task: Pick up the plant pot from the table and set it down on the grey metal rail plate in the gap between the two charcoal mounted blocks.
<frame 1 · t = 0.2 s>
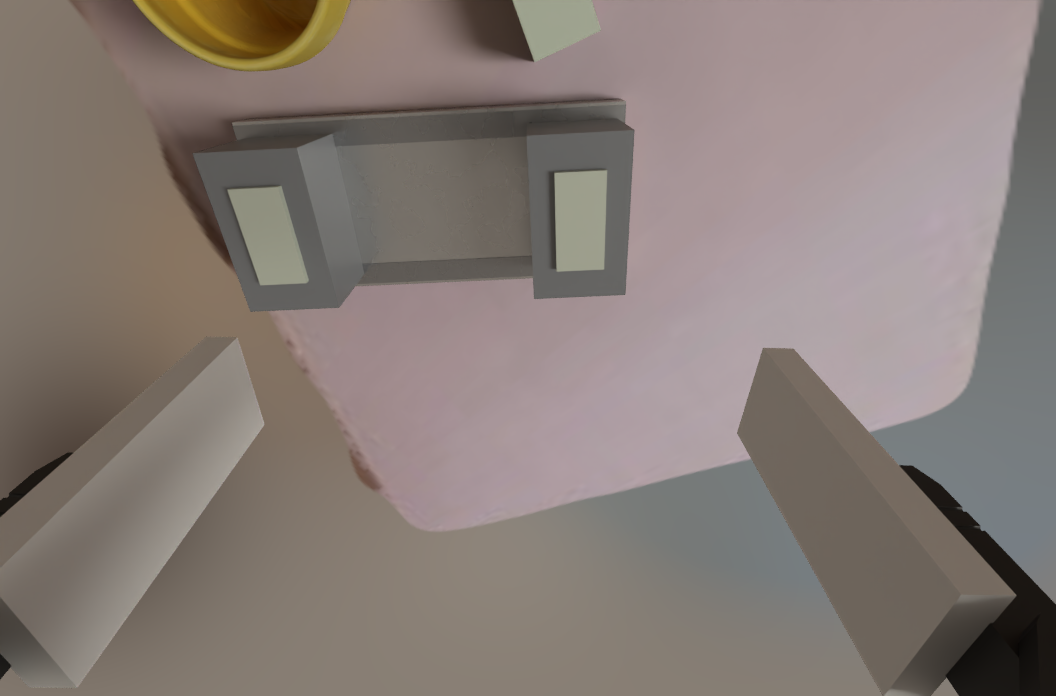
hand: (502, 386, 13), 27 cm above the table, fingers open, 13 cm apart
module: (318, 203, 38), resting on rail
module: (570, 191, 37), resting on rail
rail: (443, 197, 37), on the table
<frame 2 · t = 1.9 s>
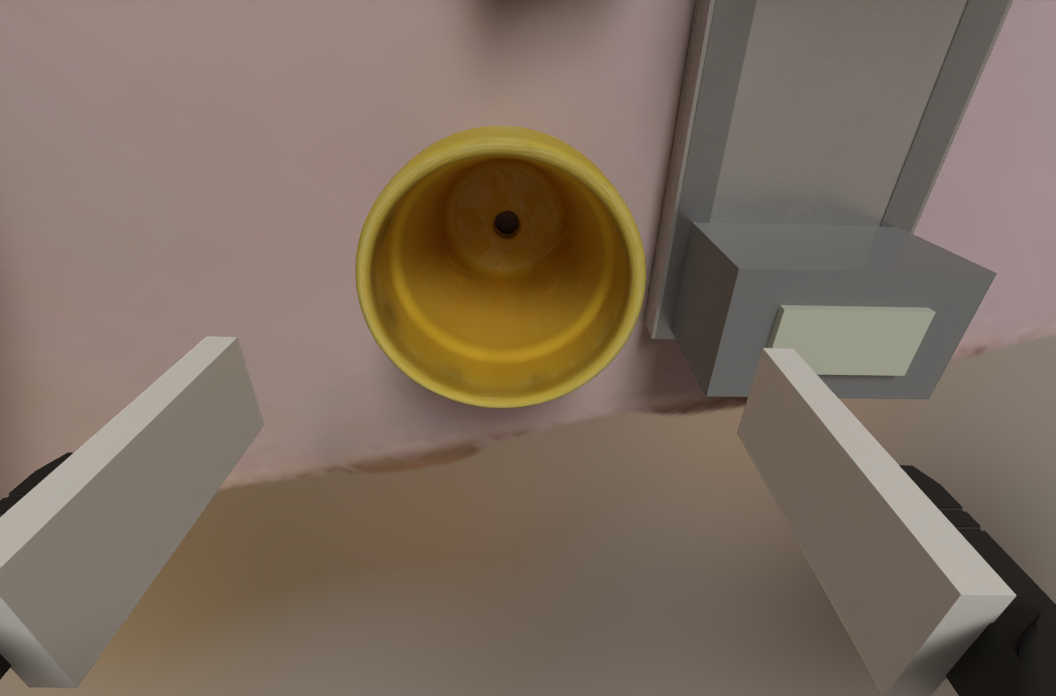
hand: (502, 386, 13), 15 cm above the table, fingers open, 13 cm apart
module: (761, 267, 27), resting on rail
plant pot: (507, 215, 26), on the table
rail: (816, 69, 23), on the table
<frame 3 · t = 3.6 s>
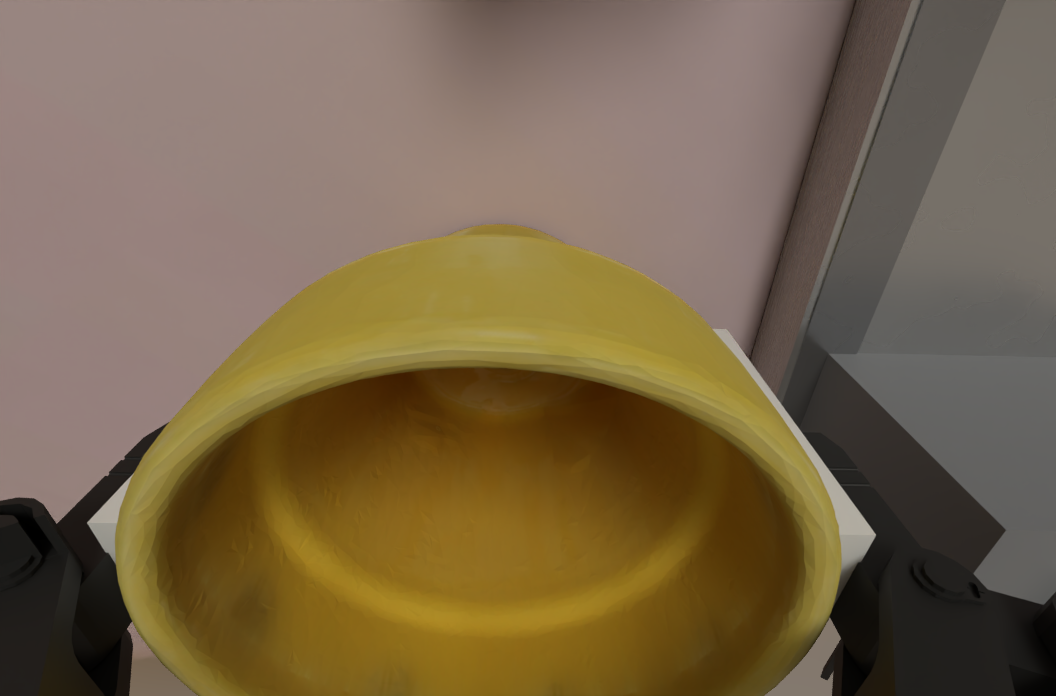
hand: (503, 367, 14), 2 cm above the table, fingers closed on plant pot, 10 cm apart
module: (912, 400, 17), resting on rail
plant pot: (506, 324, 16), on the table, touching gripper
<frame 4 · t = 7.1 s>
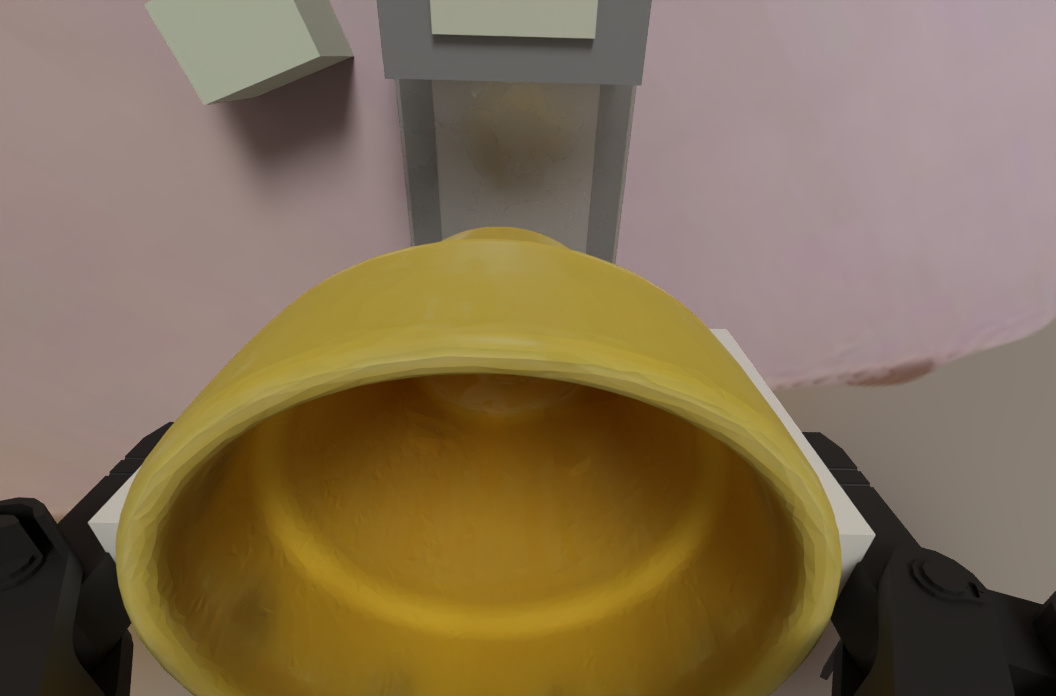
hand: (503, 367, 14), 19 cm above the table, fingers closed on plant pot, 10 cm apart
plant pot: (506, 326, 16), point 16 cm above the table, touching gripper
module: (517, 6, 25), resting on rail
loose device: (283, 34, 26), on the table
rail: (515, 199, 30), on the table
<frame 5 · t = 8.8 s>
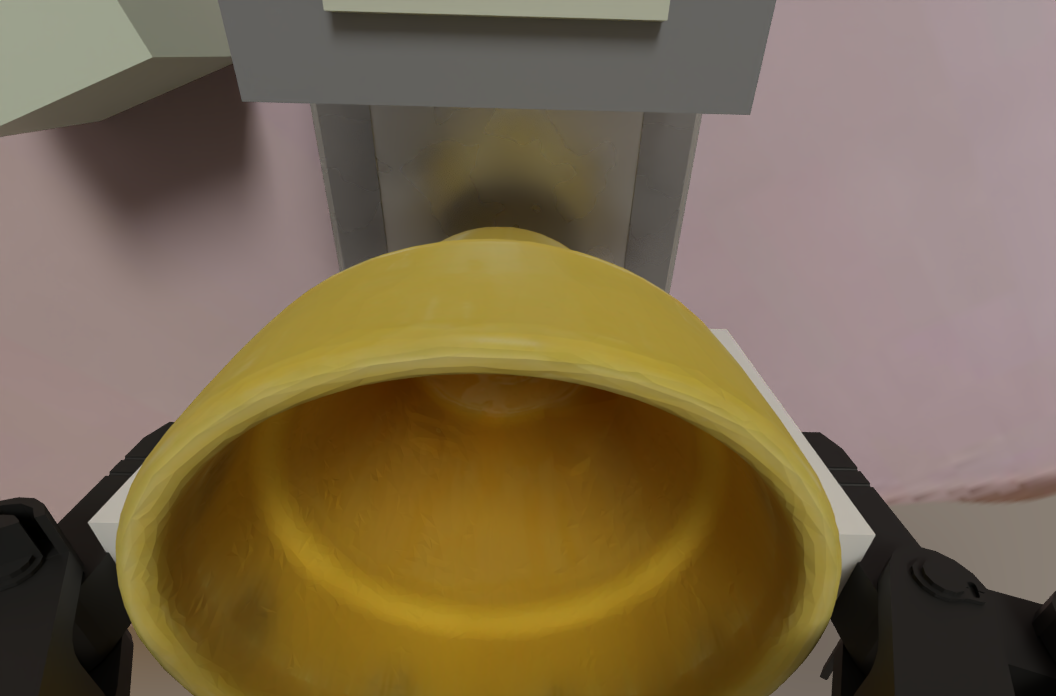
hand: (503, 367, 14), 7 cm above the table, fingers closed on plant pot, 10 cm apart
plant pot: (506, 326, 16), point 5 cm above the table, touching gripper
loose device: (132, 22, 16), on the table
rail: (508, 268, 20), on the table
when the fingers open (5 cm above the table, at t = 10.4 s): plant pot stays where it is, resting on rail.
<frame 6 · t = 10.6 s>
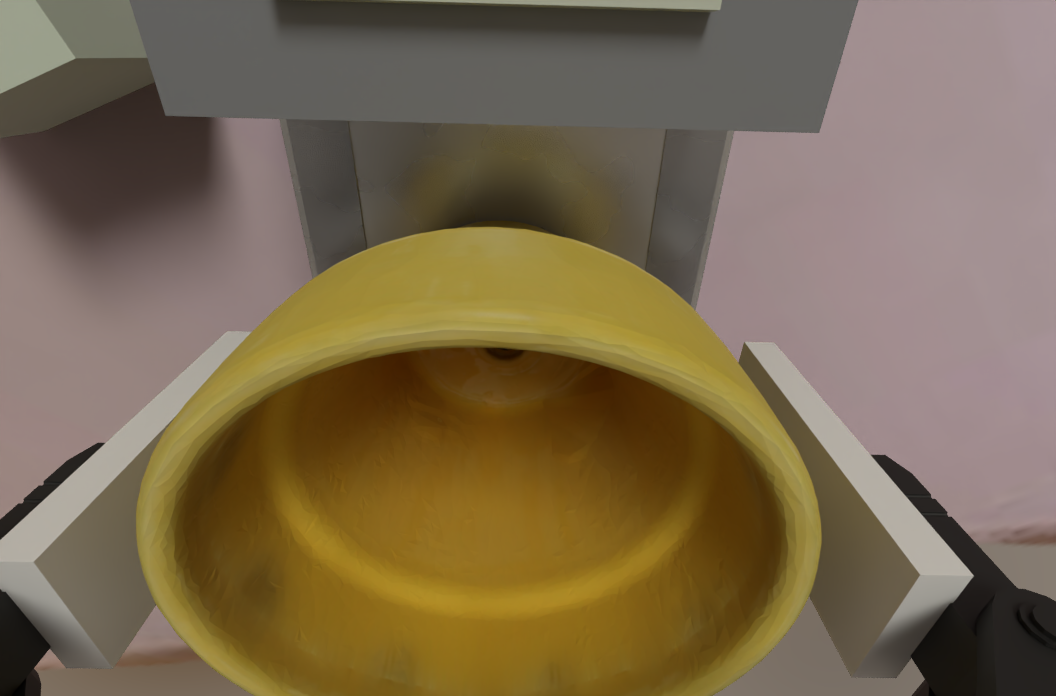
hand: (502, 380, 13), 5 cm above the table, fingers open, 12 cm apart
plant pot: (506, 318, 16), point 2 cm above the table, touching rail
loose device: (75, 18, 14), on the table
rail: (509, 295, 18), on the table
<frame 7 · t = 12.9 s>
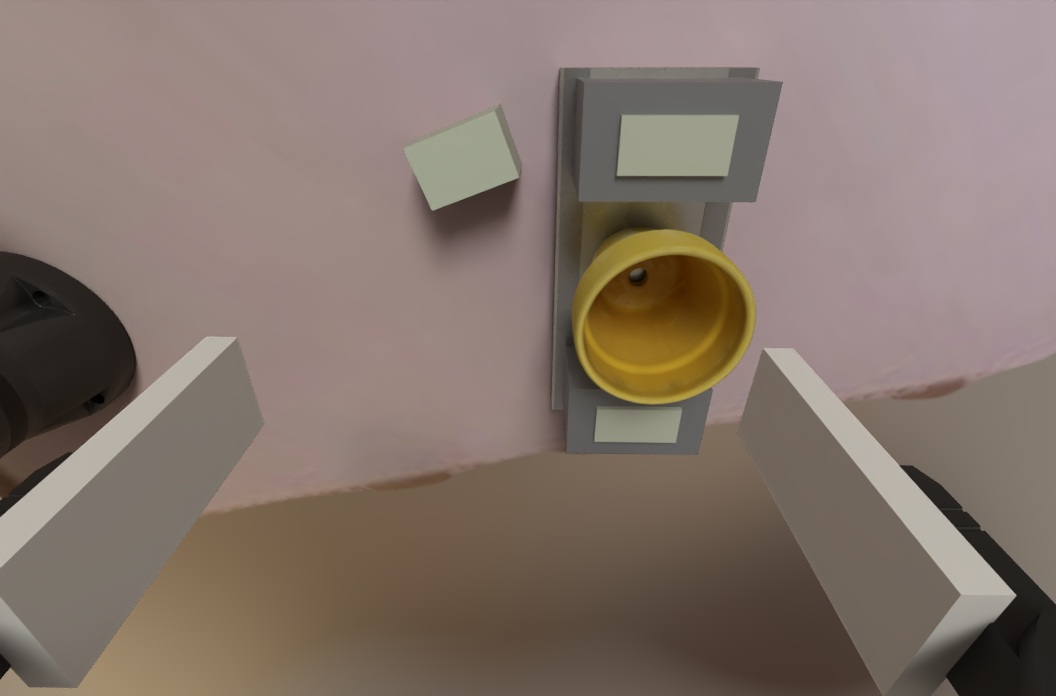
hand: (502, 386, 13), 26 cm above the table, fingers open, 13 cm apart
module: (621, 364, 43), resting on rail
plant pot: (635, 269, 37), point 2 cm above the table, touching rail
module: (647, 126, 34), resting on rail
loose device: (471, 149, 35), on the table
rail: (632, 260, 38), on the table
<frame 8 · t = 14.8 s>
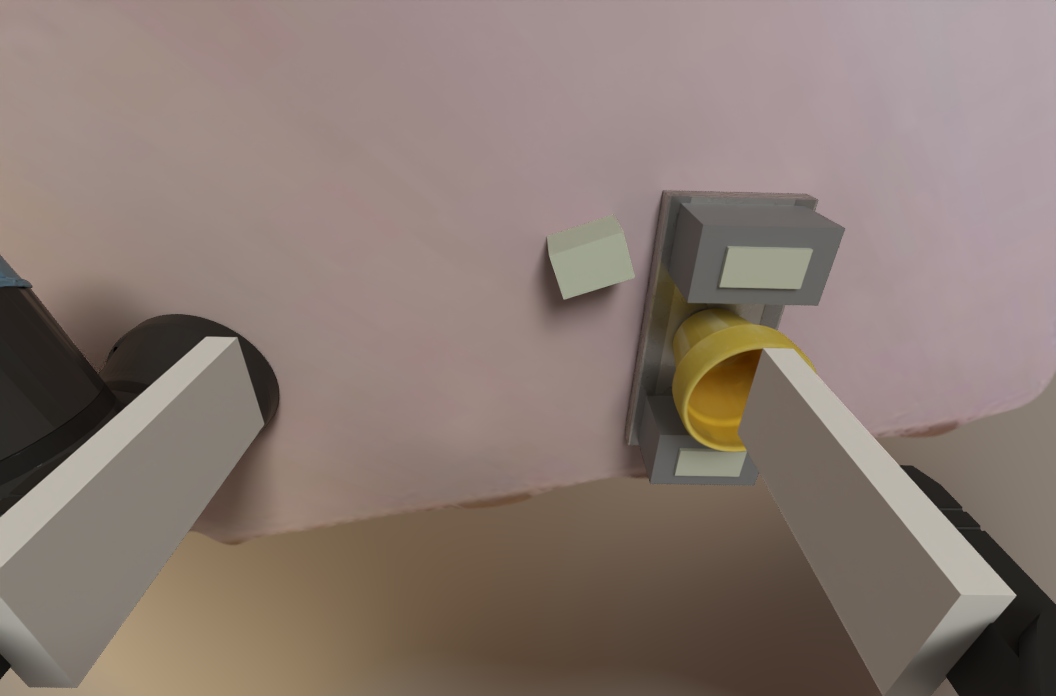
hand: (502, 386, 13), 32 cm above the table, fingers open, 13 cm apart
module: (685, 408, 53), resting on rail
plant pot: (708, 338, 47), point 2 cm above the table, touching rail
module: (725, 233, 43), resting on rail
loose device: (586, 246, 44), on the table
rail: (703, 329, 48), on the table
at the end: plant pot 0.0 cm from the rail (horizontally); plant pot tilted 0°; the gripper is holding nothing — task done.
